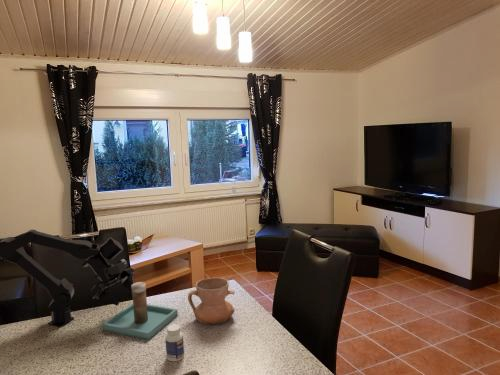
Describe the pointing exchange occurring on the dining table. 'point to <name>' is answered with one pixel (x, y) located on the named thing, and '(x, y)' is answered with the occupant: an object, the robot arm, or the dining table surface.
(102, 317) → the dining table surface
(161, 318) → the tray
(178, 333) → the pill bottle
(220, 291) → the ceramic jug
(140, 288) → the shaker
